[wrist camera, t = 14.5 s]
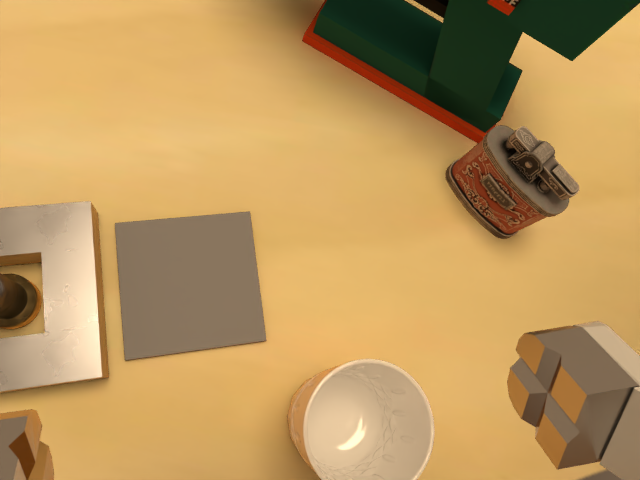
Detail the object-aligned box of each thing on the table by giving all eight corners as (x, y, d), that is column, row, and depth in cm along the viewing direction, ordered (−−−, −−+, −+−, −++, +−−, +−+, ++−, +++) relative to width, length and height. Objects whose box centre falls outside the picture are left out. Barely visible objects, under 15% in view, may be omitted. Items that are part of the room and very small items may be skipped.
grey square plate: (249, 213, 45) (249, 211, 44) (265, 341, 43) (266, 340, 42) (115, 224, 42) (114, 223, 42) (125, 360, 40) (125, 360, 40)
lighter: (436, 176, 49) (494, 126, 40) (462, 154, 50) (524, 100, 41) (499, 247, 49) (572, 213, 39) (524, 223, 50) (601, 185, 40)
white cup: (368, 487, 42) (419, 517, 32) (265, 459, 41) (286, 482, 31) (392, 380, 44) (446, 379, 34) (296, 351, 43) (323, 342, 33)
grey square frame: (97, 213, 42) (90, 201, 40) (108, 377, 40) (102, 376, 37) (-85, 228, 40) (-107, 216, 37) (-86, 405, 37) (-109, 407, 34)
